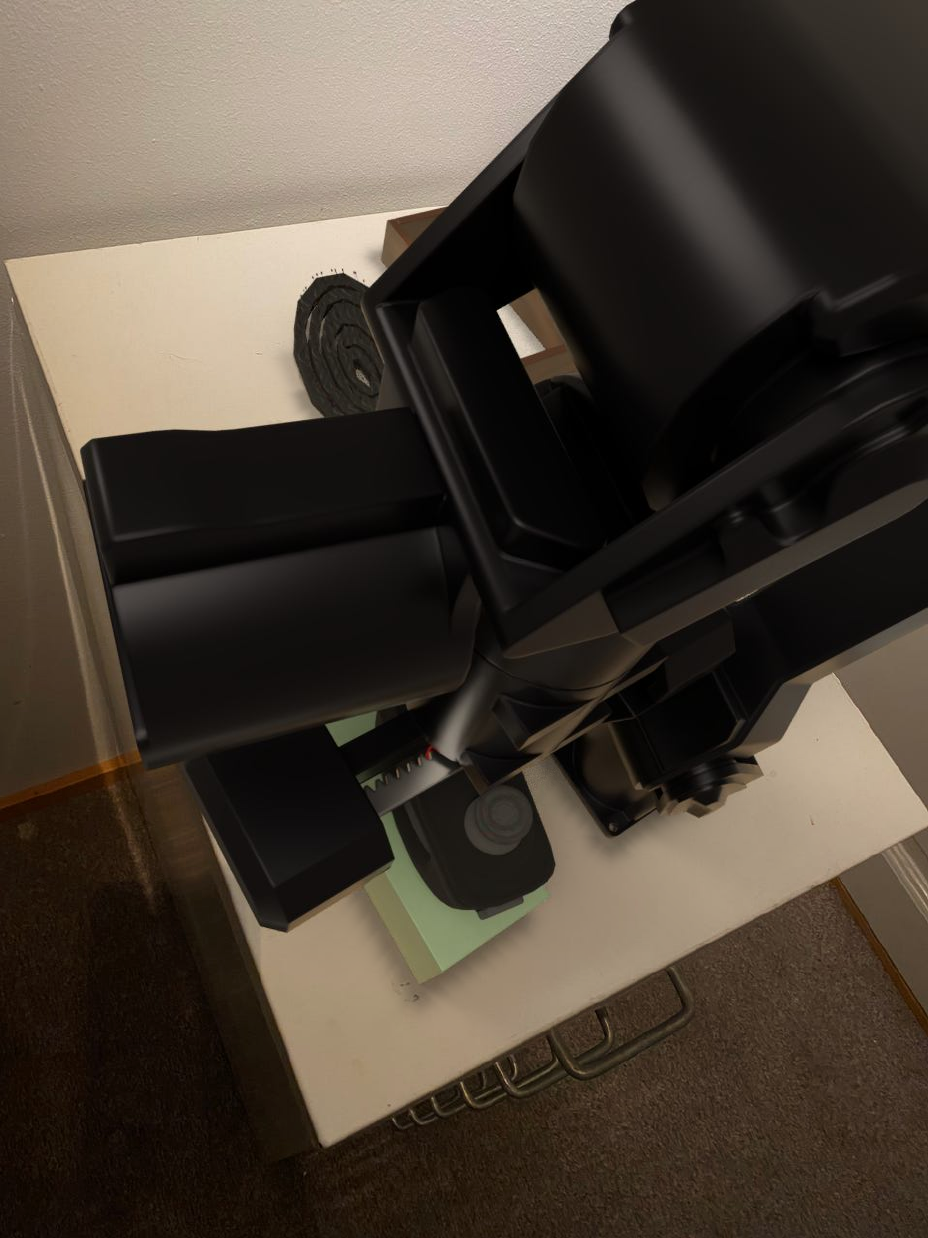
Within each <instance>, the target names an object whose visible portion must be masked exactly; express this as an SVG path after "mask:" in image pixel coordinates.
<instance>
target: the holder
mask: <svg viewBox="0 0 928 1238" xmlns="http://www.w3.org/2000/svg"><path fill="white" fill-rule="evenodd" d="M448 206H449V205H446V206H443V207H438V208H434V209H430V210H429V209H428V210H425V211H421V212H415V213H412V214H407V215H403V216H399V217H395V218H391V219H390V218H389V219H387V220H386V225H385V229H384V231H385V232H384V238H383V243H382V252H381V255H380V256H381V257H380V260H381V262H382V263H383V264H384V265H385V267H386V269H388V268H389V267H390V266H391V265H392V263H393V262H394V261H395V260H396V259H397V258H398V257H399V256H400V255H401V254H402V253H403V252H404V251H405V250H406V249H407V248H408V247H409V246H410V245H411V244H412V243H413V242H414V241H415V240H416V239H417V238H418V237H419V236H420V235H421V234H422V233H423V231H424V230H425V229H426V228H427V227H428V226H429V225H430V224H431V223H432V222H433V221H434V220H435V219H436V218H437V217H438V216H439V215H440V214H441V213H442V212H443V211H444V210H445V209H446V208H447V207H448ZM508 305H510V307H511V308H512V309H513V310H514V312H515V313H516V314H517V316H518V317H519V318H520V319H521V320H522V322H523V323H524V324H525V326H526V327H527V328H528V329H529V330H530V332H531V333H532V334H533V335H534V336H535V338H536V339H537V340H538V341H539V342H540V344H541V345H542V346H543V347H544V350H542V351H538V352H535V353H532V354H529V355H527V356H523V357H520V359H521V361H522V363H523V365H524V367H525V369H526V371H527V373H528V375H529V377H530V379H531V381H532V383H533V385H534V384H536V383H539V382H541V381H543V380H546V379H550V378H552V377H553V376H555V375H562V374H570V373H578V370H577V368H576V366H575V364H574V362H573V360H572V358H571V356H570V354H569V353H568V351H567V349H566V347H565V345H564V343H563V341H562V339H561V337H560V335H559V334H558V332H557V330H556V328H555V326H554V324H553V322H552V320H551V318H550V316H549V315H548V313H547V311H546V309H545V307H544V305H543V303H542V301H541V299H540V297H539V296H538V294H537V292H536V290H535V289H534V290H532V291H531V292H529V293H527V294H525V295H524V296H522V297H520V298H518V299H516V300H515V301H513V302H511V303H509V304H508Z"/></svg>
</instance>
